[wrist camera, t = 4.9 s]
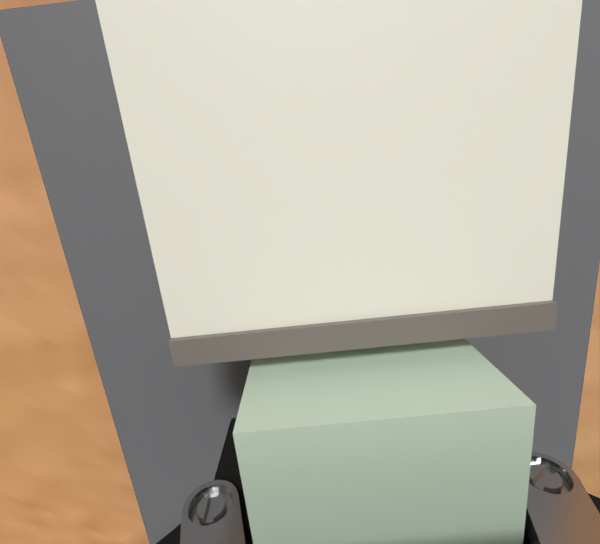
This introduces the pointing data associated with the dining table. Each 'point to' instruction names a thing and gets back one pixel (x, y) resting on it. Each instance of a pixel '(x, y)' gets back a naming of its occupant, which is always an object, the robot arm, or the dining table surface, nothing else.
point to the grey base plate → (313, 197)
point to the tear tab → (384, 447)
